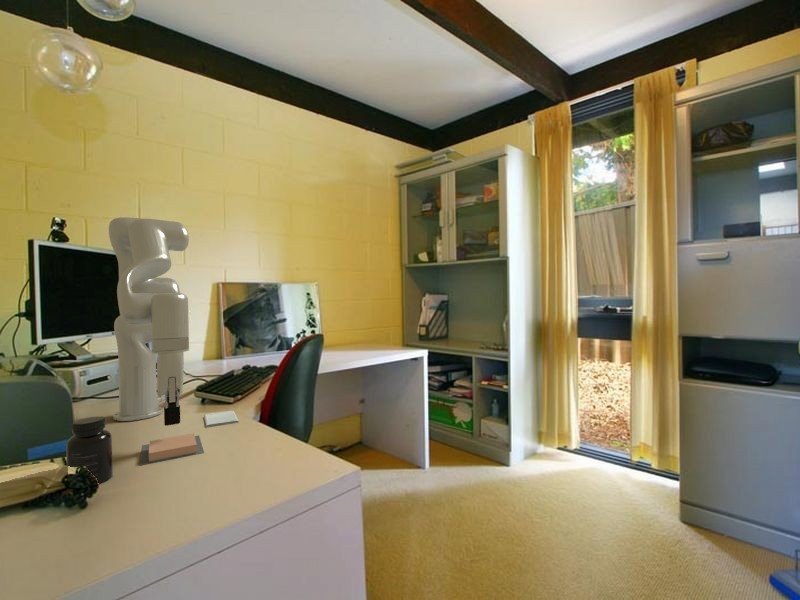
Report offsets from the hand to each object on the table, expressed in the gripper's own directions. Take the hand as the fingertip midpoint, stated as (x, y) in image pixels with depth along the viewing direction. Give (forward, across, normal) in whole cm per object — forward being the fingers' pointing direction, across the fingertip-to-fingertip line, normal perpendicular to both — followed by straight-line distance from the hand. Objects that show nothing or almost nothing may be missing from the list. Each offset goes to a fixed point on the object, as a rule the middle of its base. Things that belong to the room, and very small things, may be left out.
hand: (172, 423), depth 91 cm
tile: (+4, -1, 0) cm, 4 cm away
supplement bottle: (+6, +12, -14) cm, 19 cm away
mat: (+6, +2, 0) cm, 6 cm away
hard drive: (+6, -17, +12) cm, 22 cm away
